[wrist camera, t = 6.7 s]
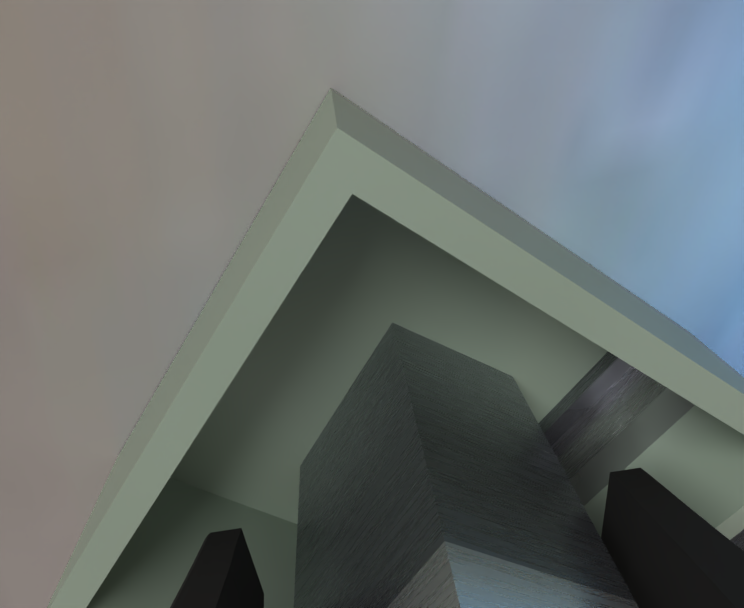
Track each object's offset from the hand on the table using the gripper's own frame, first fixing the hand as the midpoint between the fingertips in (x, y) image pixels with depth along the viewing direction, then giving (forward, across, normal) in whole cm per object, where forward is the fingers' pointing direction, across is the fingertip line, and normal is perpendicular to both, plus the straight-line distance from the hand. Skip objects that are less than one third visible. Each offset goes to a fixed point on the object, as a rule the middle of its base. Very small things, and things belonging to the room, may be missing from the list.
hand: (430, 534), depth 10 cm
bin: (+4, 0, 0) cm, 4 cm away
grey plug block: (+4, 0, 0) cm, 4 cm away
